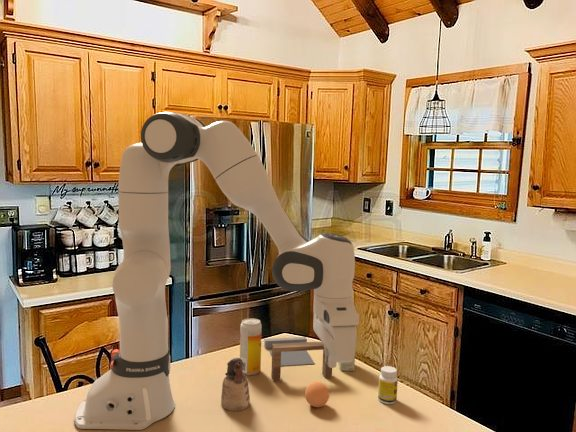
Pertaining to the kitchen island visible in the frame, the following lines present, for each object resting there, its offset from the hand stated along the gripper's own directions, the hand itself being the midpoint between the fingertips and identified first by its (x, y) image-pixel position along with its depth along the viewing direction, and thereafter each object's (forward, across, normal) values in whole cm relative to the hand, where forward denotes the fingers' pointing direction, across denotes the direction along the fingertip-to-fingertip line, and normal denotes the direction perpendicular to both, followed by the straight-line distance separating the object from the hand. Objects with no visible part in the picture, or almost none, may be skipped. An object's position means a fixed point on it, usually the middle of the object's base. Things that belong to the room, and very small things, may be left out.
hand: (330, 365), depth 107 cm
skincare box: (+15, -31, +15) cm, 38 cm away
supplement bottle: (+15, -10, +19) cm, 26 cm away
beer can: (+15, -32, -14) cm, 38 cm away
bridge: (+15, -26, 0) cm, 30 cm away
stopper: (+15, -49, 0) cm, 51 cm away
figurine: (+15, -14, -20) cm, 29 cm away
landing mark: (+15, -40, 0) cm, 43 cm away
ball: (+12, -10, 0) cm, 16 cm away
